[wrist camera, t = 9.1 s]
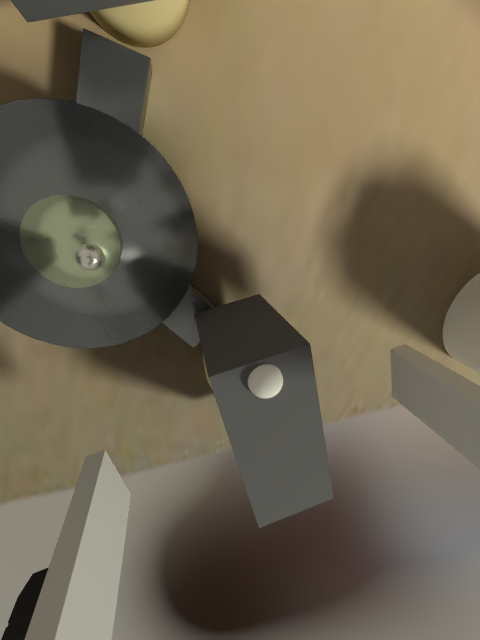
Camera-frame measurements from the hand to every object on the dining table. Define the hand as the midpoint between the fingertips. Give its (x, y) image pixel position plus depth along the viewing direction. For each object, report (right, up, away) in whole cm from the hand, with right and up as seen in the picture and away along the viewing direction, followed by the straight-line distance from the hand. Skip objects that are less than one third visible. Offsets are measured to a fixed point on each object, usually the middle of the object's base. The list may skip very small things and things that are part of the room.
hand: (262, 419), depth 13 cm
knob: (-1, +2, +5) cm, 6 cm away
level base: (-9, +8, +1) cm, 12 cm away
